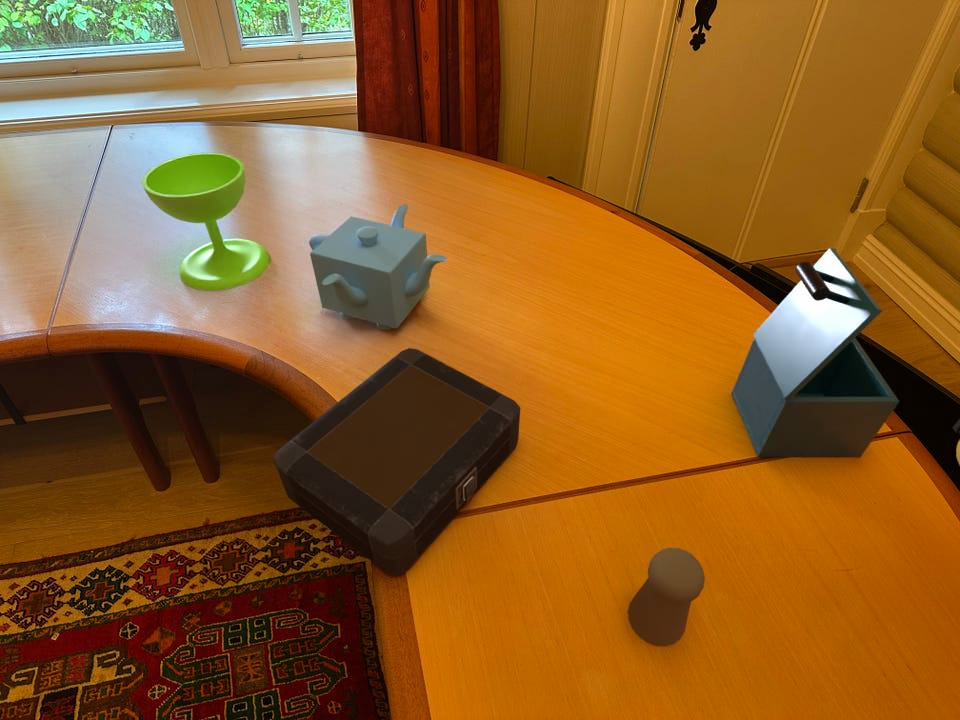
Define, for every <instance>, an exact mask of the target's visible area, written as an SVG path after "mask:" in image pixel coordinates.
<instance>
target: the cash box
mask: <svg viewBox="0 0 960 720" xmlns="http://www.w3.org/2000/svg"><path fill="white" fill-rule="evenodd" d="M520 420H521V406H520V405H519V404H518V403H517V402H516V401H515V399H513V398H511V397H508V396H507V395H506V394H503V393H501V392H500V391H498V390H496V389H494V388H492V387H490V386H489V385H488V386H487V385H486V384H484V383H483V382H481V381H479V380H477V379H474V378H473V377H471V376H469V375H467V374H465V373H463V372H462V371H459V370H458V369H456V368H453V367H452V366H450V365H448V364H446V363H445V362H442V361H441V360H439V359H437V358H435V357H433V356H432V355H429V354H427V353H425V352H424V351H422V350H420V349H418V348H412V347H408V348H406V349H402V350H401V351H400V352H399V353H397V354H396V355H394V356H393V357H391V358H390V360H388V361H387V362H386V363H385V364H383V365H382V366H381V367H380V368H379V369H377V370H376V371H374V373H372V374H371V375H370V376H368V377H367V378H365V380H364V381H362V382H361V383H360V384H359V385H358V386H356V387H355V388H354V389H352V390H351V391H349V393H348V394H346V395H345V396H344V397H343V398H341V399H340V400H339V401H337V402H336V403H335V404H333V406H331V407H330V408H329V409H327V410H326V411H325V412H323V414H321V415H320V416H319V417H318V418H316V419H314V421H312V422H311V423H310V424H309V425H308V426H307V427H305V428H304V429H303V430H301V431H300V432H299V433H298V434H296V436H294V437H293V438H292V439H290V440H289V441H288V442H287V443H285V444H284V445H283V446H281V447H280V448H278V450H277V452H276V453H275V455H274V457H273V462H274V464H275V468H276V470H277V472H278V475H279V478H280V481H281V483H282V486H283V489H284V492H285V494H286V496H287V498H288V499H289V500H290V501H292V502H293V503H294V504H296V505H297V506H298V507H300V508H301V509H302V510H303V511H304V512H306V513H307V514H308V515H310V516H311V517H312V518H314V519H315V520H316V521H318V522H319V523H320V524H322V525H323V527H324V526H325V527H326V528H327V529H328V530H330V531H331V532H332V533H334V534H335V536H338V537H339V538H340V539H342V540H343V541H344V542H346V544H348V545H349V546H350V547H352V548H353V549H354V550H356V551H357V552H358V553H360V555H362V556H363V557H365V558H366V559H368V560H369V561H370V562H372V564H374V565H376V566H377V567H378V568H379V569H381V570H382V571H384V572H385V573H386V574H389V575H392V576H395V577H396V576H397V577H398V576H400V575H402V574H404V573H405V572H407V571H408V570H409V569H410V568H411V567H412V566H413V565H414V564H415V563H416V562H417V560H418V559H419V558H420V557H421V556H422V554H424V552H425V551H426V550H427V549H428V548H429V547H430V545H431V544H432V543H433V542H434V541H435V540H436V539H437V537H439V535H440V534H441V533H442V532H443V531H444V530H445V529H446V527H447V526H448V525H449V524H450V523H451V521H453V519H454V518H455V517H456V516H457V515H458V514H459V513H460V512H461V510H463V509H464V507H465V506H466V504H468V502H469V501H470V500H471V499H472V498H473V497H474V496H475V495H476V494H477V492H478V491H479V490H480V489H481V488H482V487H483V486H484V484H485V483H486V482H487V481H488V480H489V479H490V478H491V476H492V475H493V474H494V473H495V472H496V471H497V470H498V469H499V468H500V466H502V464H503V463H504V462H505V461H506V460H507V459H508V457H510V455H511V454H512V453H513V452H514V450H516V448H517V446H518V442H519V435H520Z"/></svg>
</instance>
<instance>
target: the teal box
mask: <svg viewBox="0 0 960 720" xmlns="http://www.w3.org/2000/svg"><path fill="white" fill-rule="evenodd" d="M730 394H731V397H732V399H733V401H734V404H735V406H736V409H737V411H738V413H739V416H740V418H741V421H742V422H743V425H744V428H745V431H746V432H747V434H748V438H749V439H750V442H751V444H752V446H753V449H754V451H755V453H756V456H757V458H861V457H862V455H863V454H864V453H865V451H866V450H867V449H868V447H869V446H870V444H871V443H872V441H873V440H874V438H875V437H876V436H877V435H878V433H879V431H880V430H881V429H882V427H883V426H884V424H885V423H886V422H887V420H888V418H889V417H890V416H891V415H892V413H893V411H894V410H895V409H896V407H897V405H898V404H899V403H900V400H899V399H898V398H897V397H898V396H896V395H895V393H894V392H893V391H892V389H891V388H890V386H889V384H888V383H887V381H886V380H885V379H884V377H883V376H882V374H881V373H880V372H879V370H878V369H877V367H876V366H875V364H874V363H873V361H872V360H871V358H870V357H869V355H868V354H867V353H866V351H865V350H864V348H863V346H862V345H861V344H860V343H859V341H858V340H857V338H856V337H855V338H854V339H853V340H852V341H851V342H850V343H849V344H848V345H847V346H846V347H845V348H844V349H843V350H841V351H840V352H839V353H838V354H837V355H836V356H835V357H834V358H833V359H832V360H831V361H830V362H829V363H828V364H827V365H826V366H825V367H824V368H823V369H822V370H821V371H820V372H819V373H817V374H816V375H815V376H814V377H813V378H812V379H811V380H810V381H809V382H808V383H807V384H806V385H805V386H804V387H803V388H802V389H801V390H800V391H799V392H798V393H797V394H796V395H795V396H793V397H792V398H791V399H786V398H785V397H784V395H783V393H782V391H781V389H780V387H779V385H778V383H777V381H776V379H775V377H774V375H773V373H772V372H771V370H770V368H769V366H768V364H767V362H766V360H765V358H764V356H763V354H762V352H761V350H760V348H759V346H758V344H757V342H756V340H755V338H754V337H753V340H752V342H751V345H750V347H749V350H748V352H747V355H746V357H745V359H744V362H743V364H742V367H741V369H740V371H739V374H738V376H737V378H736V381H735V383H734V386H733V388H732V390H731V393H730Z"/></svg>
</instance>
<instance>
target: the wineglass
mask: <svg viewBox="0 0 960 720" xmlns="http://www.w3.org/2000/svg"><path fill="white" fill-rule="evenodd" d="M141 186H142V188H143V190H144V192H145V193H146V195H147V197H148V198H149V200H150V201H151V202H152V203H153V204H154V205H155V206H156V207H157V208H158V209H160V210H161V211H162V212H163V213H165V214H166V215H168V216H170V217H172V218H174V219H176V220H179V221H182V222H187V223H191V224H204V225H205V228H206V230H207V233H208V236H209V239H210V241H211V242H209V243H206V244H204V245H201V246H200V247H198V248H196V249H195V250H193V251H191V252H190V253H189V254H188V255H187V256H186V257H185V258H184V259H183V261H182V262H181V264H180V266H179V267H180V268H179V277H180V279H181V281H182V282H183V283H184V284H185V285H186V286H187V287H190V288H192V289H194V290H199V291H205V292H206V291H212V292H213V291H223V290H231V289H233V288H237V287H240V286H243V285H246V284H247V283H249V282H252V281H254V280H255V279H257V278H258V277H259V276H261V275H262V273H264V272H265V271H266V270H267V268H268V266H269V265H270V261H271V260H270V254H269V253H268V251H267V249H266V248H265V247H264V246H262V244H260V243H258V242H255V241H253V240H249V239H242V238H228V239H223V237H222V234H221V230H220V227H219V225H218V222H217V221H218V220H220V219H223V218H224V217H226V216H227V215H229V214H230V213H231V212H232V211H233V210H234V209H235V208H236V207H238V204H239V202H240V200H241V198H242V197H243V195H244V192H245V188H246V187H245V186H246V171H245V164H244V163H243V162H242V160H241V159H239V158H238V157H236V156H234V155H231V154H228V153H227V154H226V153H222V152H197V153H189V154H185V155H179V156H176V157H172V158H170V159H167V160H163V162H160V163H158V164H156V165H154V166H153V167H151V168H150V169H148V170H147V171H146V173H145V174H144V175H143V176H142V179H141Z"/></svg>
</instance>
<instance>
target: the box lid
mask: <svg viewBox="0 0 960 720" xmlns="http://www.w3.org/2000/svg"><path fill="white" fill-rule="evenodd" d="M794 271H795V274H796V276H797V277H798V278H799V280H800V281H799V282H798V283H797V284H796V285H795V286H794V287H793V288H792V289H791V291H790V292H789V293H788V295H786V297H784V299H783V300H782V301H781V302H780V303H779V304H778V305H777V307H776V308H775V309H774V310H773V311H772V312H771V314H770V315H769V316H768V317H767V318H765V320H764V321H763V322H762V324H761V325H760V326H759V327H758V328H757V329H756V330H755V331H754V333H753V334H752V336H753V339H754V338H755V340H756V342H757V344H758V346H759V348H760V350H761V352H762V354H763V356H764V358H765V360H766V362H767V364H768V366H769V368H770V370H771V372H772V373H773V375H774V377H775V379H776V381H777V383H778V385H779V387H780V389H781V391H782V393H783V395H784V397H785V398H786V399H791V398H792V397H793V396H795V395H796V394H797V393H798V392H799V391H800V390H801V389H802V388H803V387H804V386H805V385H806V384H807V383H808V382H809V381H810V380H811V379H812V378H813V377H814V376H815V375H816V374H817V373H819V372H820V371H821V370H822V369H823V368H824V367H825V366H826V365H827V364H828V363H829V362H830V361H831V360H832V359H833V358H834V357H835V356H836V355H837V354H838V353H839V352H840V351H841V350H843V349H844V348H845V347H846V346H847V345H848V344H849V343H850V342H851V341H852V340H853V339H854V338H856V337H857V336H858V335H860V334H861V333H862V332H863V331H864V330H865V329H866V328H867V327H868V326H869V325H870V324H871V323H872V322H873V321H874V320H875V319H876V318H877V317H878V316H879V315H880V314H881V313H883V310H882V308H881V307H880V305H879V304H878V302H876V300H875V298H873V296H872V295H871V294H870V292H869V291H868V289H866V288H865V286H864V285H863V284H862V282H861V281H860V279H859V278H858V277H857V276H856V275H855V273H854V272H853V271H852V270H851V268H850V266H848V264H847V263H846V261H845V260H844V259H843V258H842V256H841V255H840V254H839V252H837V250H836V249H835V248H831V247H829V248H828V249H827V250H826V251H825V252H824V253H823V255H821V257H820V258H819V259H818V260H817V261H816V262H815V264H812V263H811V262H809V261H803V262H800V263H799V264H797V266H796V267H795V270H794Z"/></svg>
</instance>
